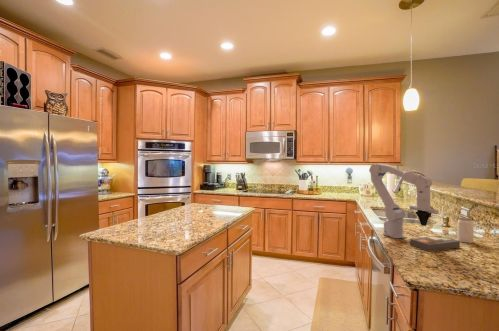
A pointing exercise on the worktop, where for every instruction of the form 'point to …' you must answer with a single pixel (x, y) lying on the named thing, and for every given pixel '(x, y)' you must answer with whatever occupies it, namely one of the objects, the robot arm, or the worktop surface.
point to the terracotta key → (424, 241)
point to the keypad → (435, 244)
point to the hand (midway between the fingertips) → (423, 225)
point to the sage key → (445, 239)
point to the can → (465, 230)
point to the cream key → (434, 239)
